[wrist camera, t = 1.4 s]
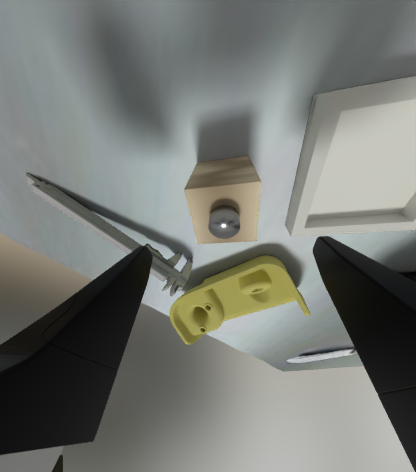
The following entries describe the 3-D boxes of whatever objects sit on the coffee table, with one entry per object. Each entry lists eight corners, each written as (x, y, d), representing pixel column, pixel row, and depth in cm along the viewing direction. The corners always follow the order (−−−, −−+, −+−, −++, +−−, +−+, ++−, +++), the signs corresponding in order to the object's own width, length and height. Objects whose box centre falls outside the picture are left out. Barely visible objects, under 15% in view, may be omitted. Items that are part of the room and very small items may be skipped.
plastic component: (278, 257, 18) (316, 325, 19) (271, 239, 24) (299, 289, 25) (159, 305, 25) (191, 352, 26) (179, 280, 32) (204, 319, 33)
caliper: (193, 257, 23) (185, 297, 18) (190, 261, 23) (181, 300, 18) (30, 171, 16) (-53, 199, 11) (31, 180, 17) (-48, 209, 12)
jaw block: (248, 155, 13) (264, 188, 8) (247, 202, 16) (259, 250, 11) (197, 162, 14) (180, 197, 8) (204, 206, 17) (196, 253, 11)
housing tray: (525, 55, 9) (590, 44, 7) (399, 217, 16) (418, 229, 14) (313, 94, 10) (329, 92, 9) (285, 225, 17) (291, 236, 16)
